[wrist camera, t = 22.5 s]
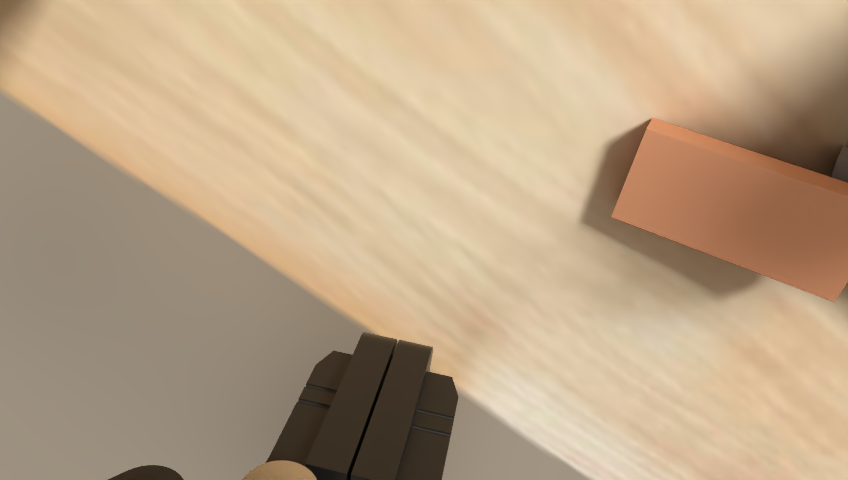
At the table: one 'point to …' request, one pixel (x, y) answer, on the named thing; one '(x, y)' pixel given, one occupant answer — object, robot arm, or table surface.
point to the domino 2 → (841, 165)
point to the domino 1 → (740, 207)
